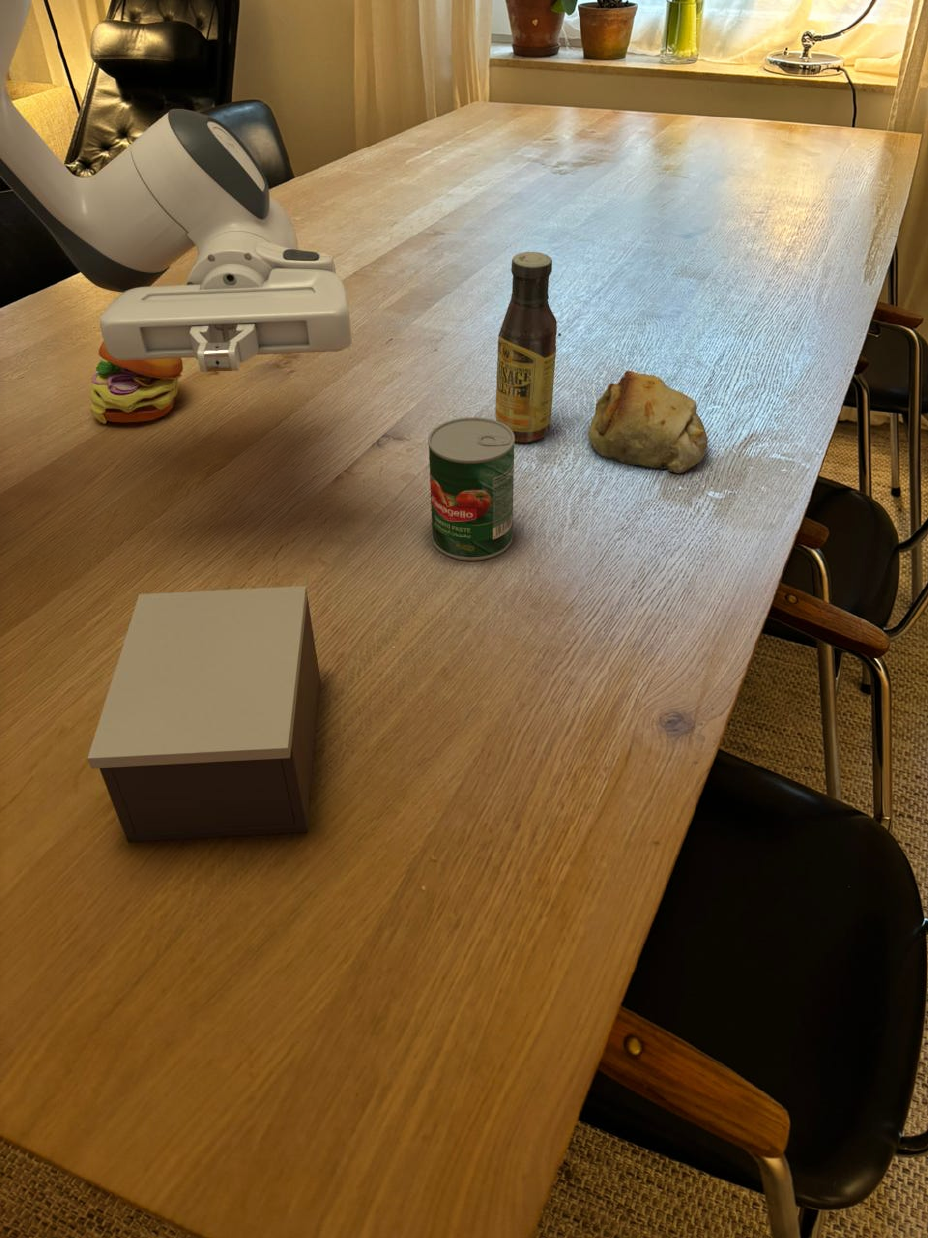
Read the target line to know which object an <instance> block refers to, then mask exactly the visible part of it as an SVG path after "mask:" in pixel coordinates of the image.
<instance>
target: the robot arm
mask: <svg viewBox="0 0 928 1238" xmlns="http://www.w3.org/2000/svg"><path fill="white" fill-rule="evenodd" d="M31 3H32V0H0V179H1V180H2V181H3V182H4V183H5V184H6V185H7V186H8V187H9V188H10V189H11V191H12V192H13V193H14V194H15V195H16V196H17V197H18V198H19V200H20V201H22V203H23V204H25V206H26V207H27V208H28V209H29V210H30V211H31V213H33V214H34V216H36V219H38V220H39V221H40V222H41V224H42V225H43V226H44V227H45V228H46V229H47V231H48V232H49V234H51V236H52V237H53V238H54V240H55V241H56V242H57V244H58V245H59V247H60V248H61V250H62V251H63V252H64V254H65V255H66V256H67V257H68V259H69V261H70V262H71V263H72V264H73V265H74V266H75V268H76V269H77V270H78V271H79V273H81V275H83V276H84V278H86V279H87V281H89V282H90V283H92V285H94V286H95V287H97V288H100V289H103V290H105V291H106V290H107V291H109V292H114V293H121V294H119V295H118V296H116V298H115V299H114V300H113V301H112V302H111V303H110V304H109V305H108V306H107V307H106V308H105V310H104V311H103V313H102V314H101V315H100V317H99V327H100V330H101V331H100V332H101V335H102V339H103V341H104V343H105V346H106V349H107V351H108V353H109V355H111V356H112V357H113V358H115V359H116V360H144V359H167V358H181V359H187V358H188V359H189V358H195V359H196V360H197V361H198V365H199V370H200V372H201V373H210V372H211V373H213V372H238V371H240V366H241V363H244V362H246V361H248V360H250V359H252V358H254V357H255V356H260V355H262V356H263V355H285V354H286V355H287V354H307V353H309V354H310V353H335V352H336V353H337V352H342V351H344V350H346V349H348V348H351V346H352V343H353V342H352V341H353V340H352V328H351V318H350V309H349V300H348V299H349V298H348V294H347V289H346V286H345V284H344V283H345V282H344V281H343V279H342V278H341V276H339V275H338V274H337V270H336V265H335V262H334V258H333V256H332V255H331V254H329V253H326V252H318V251H317V252H316V251H310V250H300V249H299V243H298V241H299V240H298V237H297V233H296V230H295V227H294V224H293V222H292V219H291V218H290V217H291V216H289V214H288V212H287V211H286V210H285V208H284V207H283V206H282V205H281V203H279V202H278V201H277V200H276V199H275V198H273V197H272V196H271V195H270V189H269V188H270V187H269V183H268V180H267V178H266V176H265V174H264V172H263V170H262V169H261V167H260V165H259V164H258V162H257V160H256V159H255V157H254V156H253V154H252V153H251V152H250V150H249V149H248V148H247V146H246V145H245V144H244V143H243V142H242V141H241V140H240V138H239V137H238V135H236V134H235V133H234V132H233V131H232V130H231V128H229V127H228V126H227V125H225V124H224V123H223V122H221V121H220V120H218V119H216V118H214V117H212V116H210V115H206V114H203V113H200V112H197V111H194V110H190V109H184V108H172V109H170V110H169V111H168V112H167V113H166V114H164V115H163V116H162V117H161V118H159V119H158V120H157V121H155V122H154V123H153V124H152V125H150V126H149V127H148V128H147V129H146V130H145V131H143V132H142V133H140V135H139V136H138V137H137V138H135V139H134V140H133V142H132V143H131V144H129V145H128V147H126V148H125V149H123V151H122V152H120V153H118V155H116V157H114V158H113V159H112V160H110V162H108V163H107V164H106V165H105V166H103V167H102V168H101V169H100V170H99V171H97V172H96V173H95V174H93V175H91V176H85V177H81V176H77V175H75V174H73V173H72V172H71V171H70V170H69V168H67V166H66V165H65V164H64V163H63V162H62V160H61V159H59V157H58V156H57V154H55V152H54V151H53V150H52V149H51V148H50V147H49V145H48V144H47V143H46V142H45V141H44V139H43V138H42V137H41V136H40V135H39V133H38V132H37V131H36V130H35V129H34V127H33V126H32V125H31V124H30V123H29V121H28V120H27V119H26V118H25V117H24V116H23V115H22V113H21V112H20V111H19V110H18V108H17V107H16V105H15V104H14V103H13V101H12V99H11V97H10V95H9V93H8V90H7V86H6V82H7V77H8V74H9V70H10V67H11V64H12V61H13V59H14V56H15V53H16V50H17V48H18V45H19V43H20V40H21V37H22V34H23V32H24V29H25V26H26V22H27V19H28V17H29V13H30V8H31ZM194 248H197V255H196V258H195V260H194V262H193V265H192V267H191V270H190V272H189V275H188V277H187V280H186V284H178V285H177V284H176V285H154V286H153V284H155V283H156V282H157V281H159V279H160V278H161V277H162V276H163V275H164V274H165V273H167V271H168V270H169V269H170V268H171V266H172V265H173V264H175V263H176V262H177V261H178V260H180V259H181V258H183V257H184V256H185V255H186V254H188V253H189V252H191V250H193V249H194Z"/></svg>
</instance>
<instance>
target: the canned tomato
mask: <svg viewBox="0 0 928 1238" xmlns="http://www.w3.org/2000/svg"><path fill="white" fill-rule="evenodd" d="M515 443H516V441H515V435H514V433H513V431H512V430H511V429H510V428H509V427H508V426H506V425H505V424H503V423H501V422H498V421H496V419H492V418H486V417H479V416H472V417H471V416H467V417H458V418H454V419H450V420H447V421H445V422H442V423H441V424H439V425H436V427H435V428H433V429H432V430H431V432H430V433H429V435H428V438H427V445H428V460H429V482H430V483H429V484H430V505H431V506H430V507H431V508H430V510H431V511H430V512H431V528H432V529H431V530H432V533H431V540H432V543H433V545H434V547H435V548H436V550H437V551H439V552H440V553H441V554H443V555H445V556H446V557H449V558H451V559H455V560H458V561H466V562H477V561H484V560H485V561H486V560H488V559H492V558H495V557H496V556H499V555H501V554H503V553H504V552H505V551H507V550H508V548H509V547H510V546H511V544H512V543H513V539H514V533H513V526H514V524H513V523H514V489H515V484H514V481H515V477H514V475H515Z"/></svg>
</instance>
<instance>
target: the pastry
mask: <svg viewBox="0 0 928 1238" xmlns="http://www.w3.org/2000/svg"><path fill="white" fill-rule="evenodd" d="M697 410H698V409H697V402H696V400H695V399H694V398H692V397H690V396H689V395H686V394H685V393H684V392H682V391H679V390H676V389H673V388H671V387H670V386H668V385H667V384H666V383H665V382H664V380H663V378H660V377H658V376H655V375H654V374H646V373H640V372H639V373H638V372H635V371H632V370H626V371H625V373H624V375H623V376H622V377H621V378H620V380H619V381H618V382H617V383H616V384H615V383H609V384H608V385H607V388H606V390H604V392H603V393H602V396H600V397H599V398H598V400H597V402H596V405H595V411H594V414H593V418H592V419H591V423H590V426H589V430H588V437H589V441H590V444H591V445H592V447H593V448H594V449H595V451H596V453H598V454H600V455H601V456H602V457H605V458H609V459H610V460H613V461H616V462H619V463H622V464H628V465H634V466H640V467H645V468H650V469H661V470H662V469H667V471H668V472H669V473H676V474H682V473H685V472H687V471H688V470H690V469H691V468H692V467H694V466H696V465H697V464H699V463H700V462H701V461H702V460H703V458H704V456H705V454H706V453H707V448H708V440H709V439H708V435H707V431H706V428H705V426H704V424H703V421H702V419H701V418H700V416H699V415H698V413H697Z"/></svg>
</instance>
